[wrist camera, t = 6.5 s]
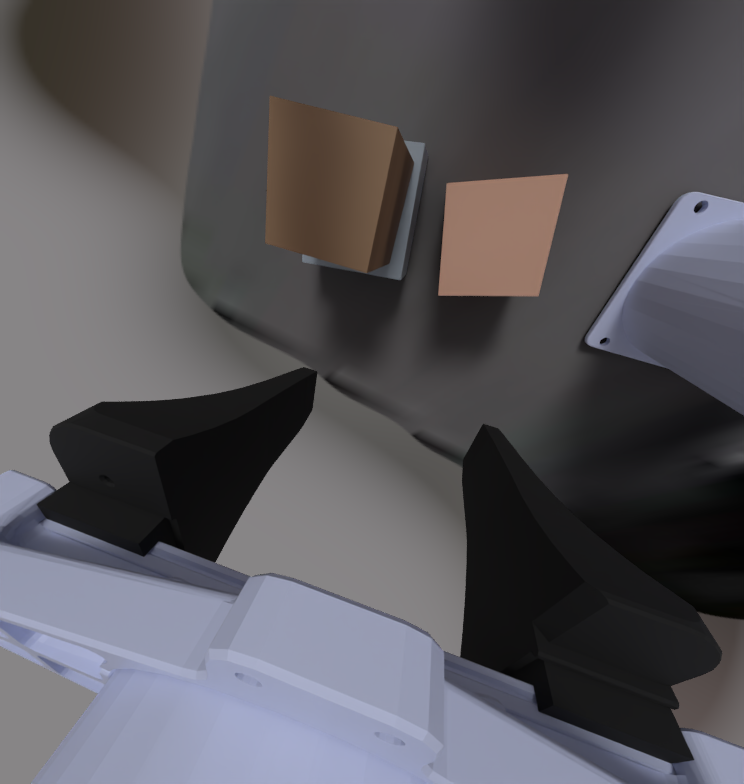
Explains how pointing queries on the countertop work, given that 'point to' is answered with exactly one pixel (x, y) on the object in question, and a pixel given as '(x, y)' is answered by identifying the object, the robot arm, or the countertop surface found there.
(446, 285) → the terracotta block
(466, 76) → the countertop surface
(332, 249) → the walnut block
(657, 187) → the countertop surface
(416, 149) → the plinth block
